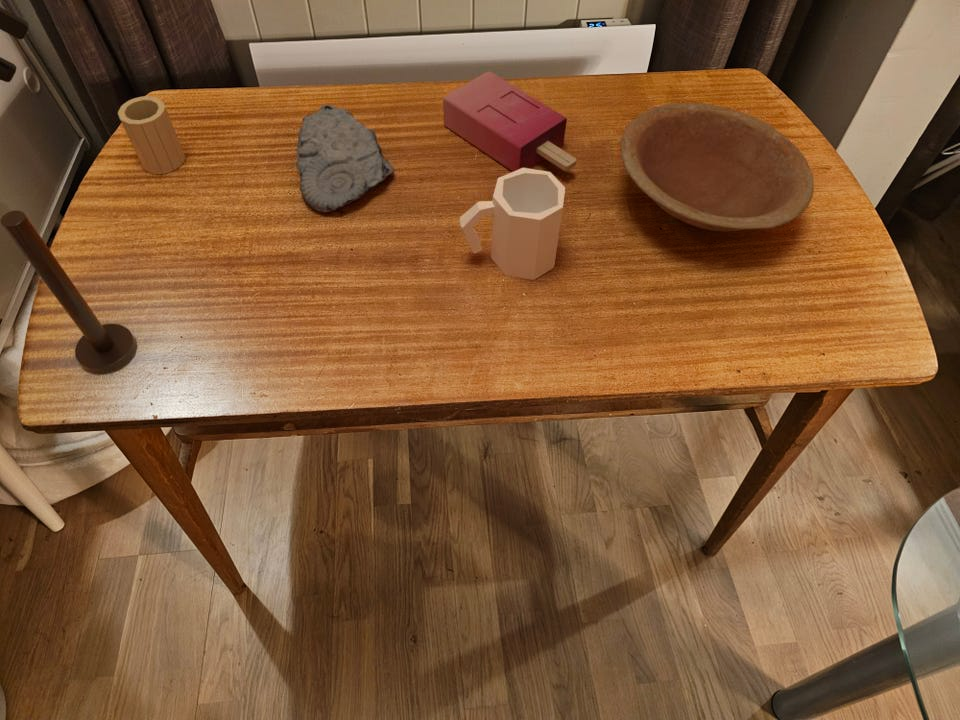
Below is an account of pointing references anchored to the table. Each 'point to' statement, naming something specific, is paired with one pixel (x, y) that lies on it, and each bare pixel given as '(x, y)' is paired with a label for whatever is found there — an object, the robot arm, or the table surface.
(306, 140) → the fossil
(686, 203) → the bowl
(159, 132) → the faceted pencil cup
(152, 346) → the table surface
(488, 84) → the popsicle
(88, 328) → the stand
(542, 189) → the mug
